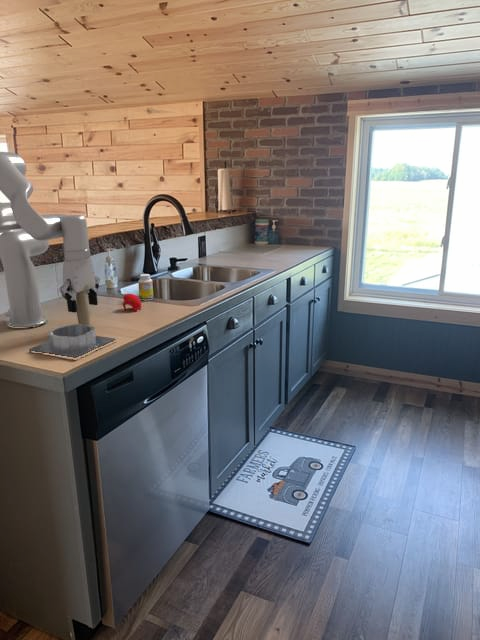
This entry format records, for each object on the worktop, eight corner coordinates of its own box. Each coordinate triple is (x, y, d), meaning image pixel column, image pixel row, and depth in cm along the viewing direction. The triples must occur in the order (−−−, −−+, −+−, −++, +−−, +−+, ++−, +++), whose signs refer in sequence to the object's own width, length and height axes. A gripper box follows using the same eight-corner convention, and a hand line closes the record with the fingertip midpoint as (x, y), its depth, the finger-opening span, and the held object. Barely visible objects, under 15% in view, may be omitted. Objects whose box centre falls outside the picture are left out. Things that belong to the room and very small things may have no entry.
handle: (97, 327, 157) (93, 283, 153) (82, 332, 152) (77, 286, 147) (87, 325, 159) (82, 281, 155) (72, 330, 154) (66, 285, 150)
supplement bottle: (140, 298, 195) (138, 273, 192) (153, 297, 196) (152, 273, 193) (139, 301, 190) (137, 276, 187) (153, 301, 191) (151, 275, 188)
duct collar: (29, 352, 135) (26, 335, 133) (71, 334, 150) (70, 319, 148) (76, 360, 128) (74, 343, 127) (115, 341, 143) (114, 325, 142)
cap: (116, 301, 177) (122, 295, 173) (127, 293, 181) (133, 287, 177) (130, 318, 178) (136, 313, 174) (140, 309, 182) (147, 304, 178)
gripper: (86, 251, 158) (92, 301, 162) (47, 259, 142) (54, 313, 147) (105, 252, 155) (109, 303, 160) (66, 260, 140) (73, 316, 144)
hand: (83, 308), depth 153 cm, fingers open, 9 cm apart
